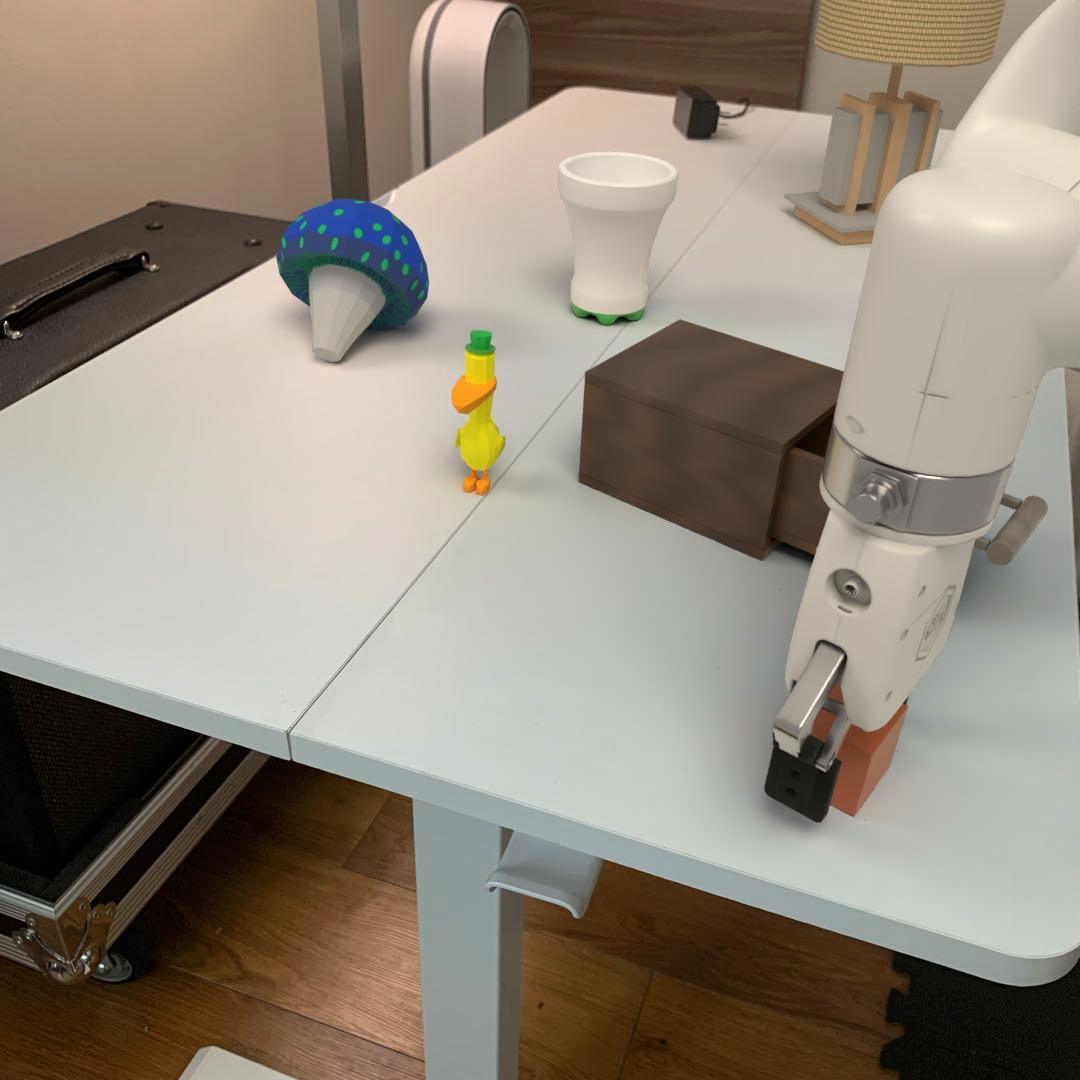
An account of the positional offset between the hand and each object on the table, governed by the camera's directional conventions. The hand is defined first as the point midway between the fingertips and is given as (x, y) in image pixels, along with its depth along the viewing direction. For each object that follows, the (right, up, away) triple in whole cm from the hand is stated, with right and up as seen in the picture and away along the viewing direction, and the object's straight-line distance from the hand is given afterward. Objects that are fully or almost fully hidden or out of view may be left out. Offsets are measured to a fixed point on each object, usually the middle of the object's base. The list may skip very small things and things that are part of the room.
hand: (836, 751), depth 56 cm
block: (0, -1, +1) cm, 2 cm away
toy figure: (-20, +15, +23) cm, 34 cm away
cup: (-9, +34, +52) cm, 62 cm away
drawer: (+7, +11, +18) cm, 22 cm away
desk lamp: (+25, +50, +77) cm, 95 cm away
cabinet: (-3, +15, +25) cm, 29 cm away
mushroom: (-33, +30, +45) cm, 63 cm away
